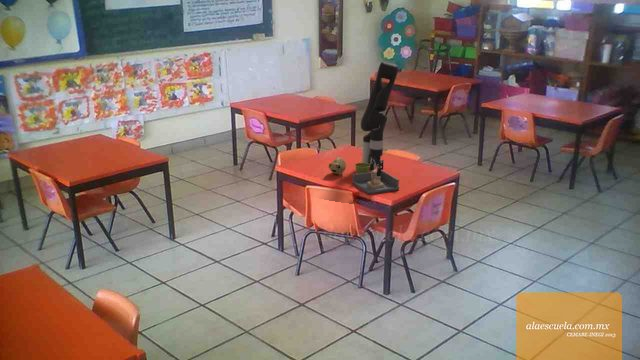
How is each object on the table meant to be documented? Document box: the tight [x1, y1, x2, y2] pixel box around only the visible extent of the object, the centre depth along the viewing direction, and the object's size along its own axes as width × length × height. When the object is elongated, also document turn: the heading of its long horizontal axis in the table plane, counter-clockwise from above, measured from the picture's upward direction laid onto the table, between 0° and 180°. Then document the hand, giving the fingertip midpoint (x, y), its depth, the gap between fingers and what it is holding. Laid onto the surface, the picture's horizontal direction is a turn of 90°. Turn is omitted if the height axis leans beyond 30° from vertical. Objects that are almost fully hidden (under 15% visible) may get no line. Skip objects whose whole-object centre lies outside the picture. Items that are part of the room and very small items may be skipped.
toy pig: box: [328, 156, 347, 176], centre depth 371 cm, size 10×12×11 cm
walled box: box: [352, 169, 400, 196], centre depth 349 cm, size 20×20×6 cm
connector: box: [371, 169, 381, 185], centre depth 349 cm, size 4×4×9 cm
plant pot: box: [354, 162, 370, 174], centre depth 364 cm, size 9×9×9 cm
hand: (375, 173), depth 348 cm, fingers open, 8 cm apart
